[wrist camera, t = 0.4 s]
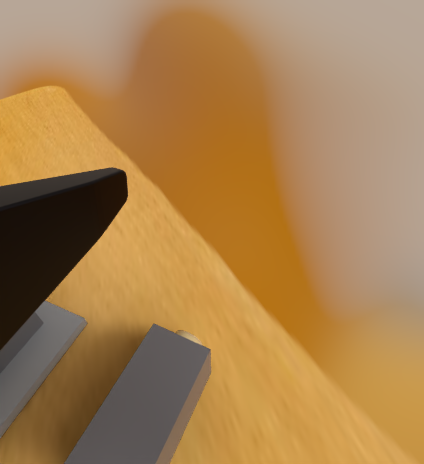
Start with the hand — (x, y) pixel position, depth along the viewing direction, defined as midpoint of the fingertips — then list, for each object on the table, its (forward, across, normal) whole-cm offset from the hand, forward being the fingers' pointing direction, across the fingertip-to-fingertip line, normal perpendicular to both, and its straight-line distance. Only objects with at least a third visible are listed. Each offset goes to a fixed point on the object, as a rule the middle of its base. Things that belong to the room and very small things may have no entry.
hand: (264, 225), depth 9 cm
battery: (0, +4, +17) cm, 17 cm away
